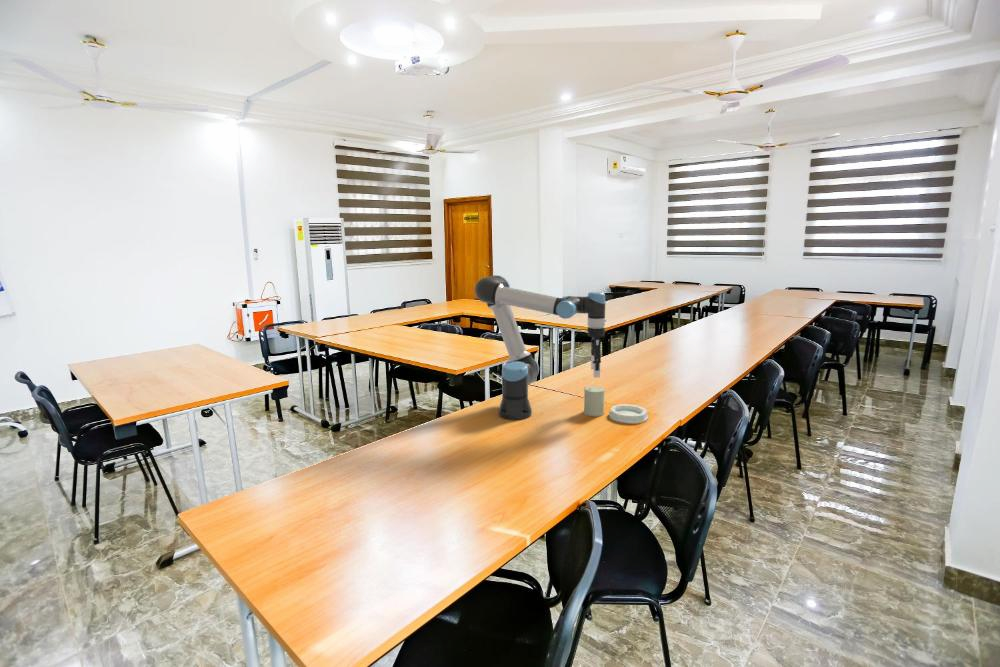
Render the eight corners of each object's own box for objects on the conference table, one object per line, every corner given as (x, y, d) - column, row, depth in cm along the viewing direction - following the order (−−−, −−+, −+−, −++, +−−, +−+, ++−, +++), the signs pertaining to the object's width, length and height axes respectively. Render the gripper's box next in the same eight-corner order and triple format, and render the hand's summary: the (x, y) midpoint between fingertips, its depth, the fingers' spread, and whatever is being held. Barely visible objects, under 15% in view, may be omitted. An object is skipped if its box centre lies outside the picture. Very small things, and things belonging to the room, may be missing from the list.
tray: (611, 423, 215) (611, 416, 214) (607, 409, 232) (607, 403, 231) (651, 424, 213) (651, 417, 213) (644, 410, 230) (644, 404, 229)
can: (579, 411, 230) (580, 386, 228) (596, 408, 234) (596, 384, 232) (591, 417, 222) (592, 392, 220) (608, 414, 226) (608, 389, 223)
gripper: (608, 332, 208) (606, 380, 212) (601, 322, 232) (600, 366, 236) (589, 332, 208) (589, 380, 212) (585, 322, 233) (585, 366, 237)
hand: (595, 373), depth 224 cm, fingers open, 13 cm apart
